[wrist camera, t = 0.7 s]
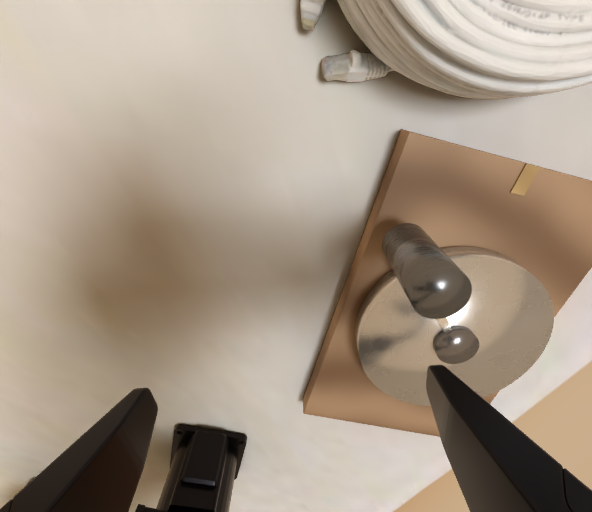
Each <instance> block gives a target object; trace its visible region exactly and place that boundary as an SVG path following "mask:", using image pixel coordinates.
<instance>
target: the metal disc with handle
mask: <svg viewBox="0 0 592 512" xmlns="http://www.w3.org/2000/svg"><path fill="white" fill-rule="evenodd" d="M382 250H383V253H384V255H385V257H386V259H387V261H388V263H389V264H390V266H391V268H392V270H391V271H390V272H389V273H387V274H386V275H385V276H384V277H383V278H382V279H381V280H380V281H378V283H377V284H376V285H375V286H374V287H373V288H372V289H371V291H370V292H369V294H368V295H367V297H366V298H365V299H364V301H363V303H362V305H361V307H360V310H359V313H358V316H357V319H356V326H355V339H356V344H357V349H358V353H359V357H360V361H361V364H362V367H363V370H364V371H365V373H366V375H367V377H368V378H369V379H370V380H371V382H372V383H373V384H374V385H375V386H376V387H377V388H379V389H380V390H381V391H383V392H384V393H386V394H387V395H389V396H391V397H393V398H395V399H397V400H400V401H403V402H406V403H410V404H414V405H421V406H431V404H430V401H429V398H428V394H427V390H426V379H427V369H428V366H430V365H444V366H445V367H446V368H448V369H449V370H450V371H451V372H452V373H453V374H455V375H456V376H457V377H458V378H459V379H461V380H462V381H463V382H464V383H465V384H466V385H468V386H469V387H470V388H471V389H472V390H473V391H475V392H476V393H477V394H478V395H479V396H481V397H482V398H484V397H486V396H488V395H491V394H493V393H495V392H497V391H499V390H501V389H503V388H505V387H506V386H508V385H509V384H511V383H513V382H514V381H515V380H517V379H518V378H519V377H520V376H522V375H523V374H524V373H525V372H526V371H527V370H528V369H529V368H530V367H531V366H532V365H533V364H534V363H535V362H536V361H537V359H538V358H539V357H540V355H541V354H542V352H543V351H544V349H545V347H546V345H547V343H548V341H549V338H550V335H551V332H552V328H553V322H554V310H553V305H552V301H551V298H550V296H549V294H548V292H547V290H546V289H545V287H544V286H543V284H542V283H541V282H540V281H539V280H538V279H537V278H536V277H535V276H534V275H533V274H531V273H530V272H529V271H527V270H526V269H525V268H523V267H522V266H521V265H519V264H518V263H517V262H515V261H514V260H512V259H511V258H510V257H507V256H505V255H503V254H501V253H499V252H496V251H493V250H490V249H485V248H479V247H467V246H460V247H448V248H443V249H441V248H440V247H439V246H438V245H437V244H436V243H435V242H434V241H433V240H432V239H431V237H430V236H429V235H428V234H427V233H426V232H425V231H424V230H423V229H422V228H421V227H420V226H418V225H416V224H413V223H402V224H399V225H396V226H394V227H393V228H391V229H390V230H389V231H388V232H387V233H386V235H385V236H384V238H383V241H382Z"/></svg>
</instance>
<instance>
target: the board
mask: <svg viewBox="0 0 592 512" xmlns="http://www.w3.org/2000/svg"><path fill="white" fill-rule="evenodd" d="M402 223H413V224H416V225H418V226H420V227H421V228H422V229H423V230H424V231H425V232H426V233H427V234H428V235H429V236H430V237H431V239H432V240H433V241H434V242H435V243H436V244H437V245H438V246H439V247H440V248H441V249H443V248H448V247H460V246H467V247H479V248H485V249H490V250H493V251H496V252H499V253H501V254H503V255H505V256H507V257H510V258H511V259H512V260H514V261H515V262H517V263H518V264H519V265H521V266H522V267H523V268H525V269H526V270H527V271H529V272H530V273H531V274H533V275H534V276H535V277H536V278H537V279H538V280H539V281H540V282H541V283H542V284H543V286H544V287H545V289H546V290H547V292H548V294H549V296H550V298H551V301H552V305H553V310H554V317H555V316H556V314H557V313H558V312H559V310H560V309H561V308H562V306H563V305H564V304H565V302H566V301H567V300H568V298H569V297H570V295H571V294H572V293H573V291H574V290H575V289H576V287H577V286H578V285H579V283H580V282H581V281H582V279H583V278H584V277H585V275H586V274H587V273H588V271H589V270H590V269H591V267H592V181H590V180H586V179H583V178H579V177H575V176H572V175H568V174H564V173H561V172H557V171H553V170H550V169H546V168H542V167H539V166H535V165H531V164H528V163H524V162H520V161H516V160H513V159H509V158H505V157H502V156H498V155H494V154H491V153H487V152H483V151H480V150H476V149H472V148H469V147H465V146H461V145H457V144H454V143H450V142H446V141H443V140H439V139H435V138H432V137H428V136H424V135H421V134H417V133H413V132H410V131H406V130H402V129H401V132H400V134H399V137H398V140H397V143H396V145H395V148H394V151H393V153H392V156H391V159H390V162H389V164H388V167H387V170H386V173H385V175H384V178H383V181H382V184H381V186H380V189H379V192H378V195H377V197H376V200H375V203H374V206H373V208H372V211H371V214H370V217H369V219H368V222H367V225H366V227H365V230H364V233H363V236H362V238H361V241H360V244H359V247H358V249H357V252H356V255H355V258H354V260H353V263H352V266H351V269H350V271H349V274H348V277H347V280H346V282H345V285H344V288H343V290H342V293H341V296H340V299H339V301H338V304H337V307H336V310H335V312H334V315H333V318H332V321H331V323H330V326H329V329H328V332H327V334H326V337H325V340H324V343H323V345H322V348H321V351H320V353H319V356H318V359H317V362H316V364H315V367H314V370H313V373H312V375H311V378H310V381H309V384H308V386H307V389H306V392H305V395H304V397H303V410H304V414H309V415H315V416H321V417H327V418H333V419H339V420H345V421H350V422H356V423H362V424H368V425H374V426H380V427H386V428H392V429H398V430H404V431H409V432H415V433H421V434H427V435H433V436H439V437H440V434H439V431H438V428H437V424H436V421H435V418H434V414H433V411H432V408H431V406H421V405H414V404H410V403H406V402H403V401H400V400H397V399H395V398H393V397H391V396H389V395H387V394H386V393H384V392H383V391H381V390H380V389H379V388H377V387H376V386H375V385H374V384H373V383H372V382H371V380H370V379H369V378H368V377H367V375H366V373H365V371H364V370H363V367H362V364H361V361H360V357H359V353H358V349H357V344H356V339H355V326H356V319H357V316H358V313H359V310H360V307H361V305H362V303H363V301H364V299H365V298H366V297H367V295H368V294H369V292H370V291H371V289H372V288H373V287H374V286H375V285H376V284H377V283H378V281H380V280H381V279H382V278H383V277H384V276H385V275H386V274H387V273H389V272H390V271H391V270H392V268H391V266H390V264H389V263H388V261H387V259H386V257H385V255H384V253H383V250H382V241H383V238H384V236H385V235H386V233H387V232H388V231H389V230H390V229H391V228H393V227H394V226H396V225H399V224H402ZM499 391H500V390H499ZM499 391H497V392H495V393H493V394H491V395H488V396H486V397H484V398H483V399H484V400H485V401H486V402H488V403H489V404H490V403H491V401H492V400H493V399H494V397H495V396H496V395H497V393H498V392H499Z"/></svg>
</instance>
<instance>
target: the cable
mask: <svg viewBox="0 0 592 512" xmlns="http://www.w3.org/2000/svg"><path fill="white" fill-rule="evenodd" d="M337 1H338V3H339V5H340V8H341V10H342V12H343V13H344V15H345V17H346V19H347V20H348V22H349V23H350V25H351V27H352V28H353V30H354V31H355V32H356V34H357V35H358V36H359V37H360V39H361V40H362V41H363V42H364V44H365V45H366V46H367V47H368V48H369V49H370V51H371V52H372V53H359V52H358V51H356V50H351V51H350V53H346V54H341V55H335V56H327V57H325V58H324V59H323V60H322V63H321V70H322V74H323V77H324V79H325V80H326V81H332V80H342V81H346V82H363V81H365V80H370V79H375V78H381V77H385V76H386V75H387V73H388V72H391V71H397V72H399V73H400V74H402V75H404V76H406V77H407V78H409V79H411V80H413V81H415V82H417V83H420V84H422V85H425V86H427V87H430V88H433V89H435V90H438V91H441V92H444V93H447V94H451V95H455V96H459V97H464V98H474V99H505V98H512V97H523V96H533V95H540V94H546V93H553V92H558V91H562V90H566V89H571V88H575V87H579V86H583V85H586V84H590V83H592V0H337ZM325 2H326V0H300V12H301V23H302V27H303V29H304V30H310V31H313V29H314V27H315V25H316V23H317V21H318V20H319V18H320V16H321V14H322V12H323V7H324V4H325Z"/></svg>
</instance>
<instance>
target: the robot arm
mask: <svg viewBox="0 0 592 512" xmlns="http://www.w3.org/2000/svg"><path fill="white" fill-rule="evenodd" d="M426 390H427V394H428V398H429V401H430V404H431V408H432V411H433V414H434V418H435V421H436V424H437V428H438V431H439V434H440V437H441V441H442V444H443V447H444V449H445V452H446V454H447V457H448V459H449V462H450V464H451V467H452V469H453V471H454V474H455V476H456V478H457V481H458V483H459V486H460V488H461V490H462V493H463V495H464V497H465V500H466V502H467V505H468V507H469V510H470V512H592V490H591V489H589V488H588V487H587V486H586V485H584V484H583V483H582V482H581V481H580V480H578V479H577V478H576V477H575V476H574V475H573V474H571V473H570V472H569V471H568V470H567V469H563V468H562V466H561V464H559V463H558V462H557V461H556V460H555V459H554V458H552V457H551V456H550V455H549V454H548V453H547V452H545V451H544V450H543V449H542V448H540V447H539V446H538V445H537V444H536V443H535V442H533V441H532V440H531V439H530V438H529V437H528V436H526V435H525V434H524V433H523V432H522V431H521V430H519V429H518V428H517V427H516V426H515V425H514V424H512V423H511V422H510V421H509V420H508V419H506V418H505V417H504V416H503V415H502V414H501V413H499V412H498V411H497V410H496V409H495V408H494V407H492V406H491V405H490V404H489V403H488V402H486V401H485V400H484V399H483V398H482V397H481V396H479V395H478V394H477V393H476V392H475V391H473V390H472V389H471V388H470V387H469V386H468V385H466V384H465V383H464V382H463V381H462V380H461V379H459V378H458V377H457V376H456V375H455V374H453V373H452V372H451V371H450V370H449V369H448V368H446V367H445V366H444V365H430V366H428V369H427V379H426ZM157 411H158V407H157V403H156V401H155V399H154V397H153V395H152V393H151V391H150V389H148V388H137V389H134V390H133V391H131V392H130V393H129V394H128V395H127V396H126V397H125V398H123V399H122V400H121V401H120V402H119V403H118V404H117V405H116V406H115V407H113V408H112V409H111V410H110V411H109V412H108V413H107V414H106V415H105V416H103V417H102V418H101V419H100V420H99V421H98V422H97V423H96V424H95V425H93V426H92V427H91V428H90V429H89V430H88V431H87V432H86V433H84V434H83V435H82V436H81V437H80V438H79V439H78V440H77V441H76V442H74V443H73V444H72V445H71V446H70V447H69V448H68V449H67V450H66V451H64V452H63V453H62V454H61V455H60V456H59V457H58V458H57V459H56V460H54V461H53V462H52V463H51V464H50V465H49V466H48V467H47V468H46V469H44V470H43V471H42V472H41V473H40V474H39V475H38V476H37V477H35V478H34V479H33V480H32V481H31V482H30V483H29V484H28V485H27V486H25V487H24V488H23V489H22V490H21V491H20V492H19V493H18V494H17V495H15V496H14V498H13V499H12V500H10V501H9V502H8V503H6V504H5V505H4V506H3V507H2V508H1V509H0V512H128V511H129V508H130V505H131V502H132V500H133V497H134V494H135V491H136V488H137V485H138V482H139V479H140V477H141V474H142V471H143V467H144V464H145V461H146V457H147V453H148V449H149V445H150V441H151V437H152V433H153V429H154V424H155V420H156V416H157ZM246 442H247V437H246V436H245V435H241V434H235V433H229V432H222V431H216V430H210V429H204V428H197V427H191V426H185V425H177V426H176V428H175V430H174V436H173V445H172V453H171V462H170V470H169V473H168V476H167V479H166V482H165V485H164V488H163V491H162V494H161V497H160V499H159V502H158V505H157V508H156V509H154V508H148V507H145V505H141V504H138V506H137V509H136V511H135V512H229V507H230V501H231V495H232V489H233V483H234V480H235V479H236V478H237V475H238V471H239V468H240V464H241V461H242V457H243V453H244V450H245V446H246Z"/></svg>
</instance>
